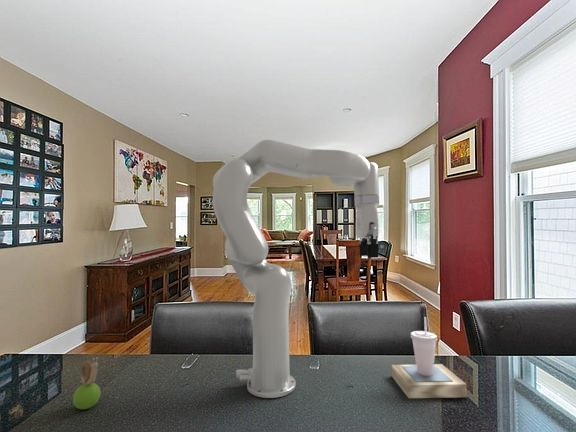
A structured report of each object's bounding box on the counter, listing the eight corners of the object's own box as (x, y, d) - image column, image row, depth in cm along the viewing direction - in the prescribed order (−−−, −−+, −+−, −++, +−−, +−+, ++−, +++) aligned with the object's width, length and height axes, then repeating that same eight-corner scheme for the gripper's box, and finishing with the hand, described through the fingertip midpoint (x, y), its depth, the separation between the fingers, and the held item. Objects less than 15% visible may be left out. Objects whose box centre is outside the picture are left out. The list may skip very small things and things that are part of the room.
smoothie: (441, 379, 77) (439, 321, 78) (414, 377, 79) (412, 320, 80) (435, 368, 84) (433, 314, 85) (409, 366, 85) (407, 314, 86)
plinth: (408, 398, 75) (408, 384, 75) (391, 376, 87) (391, 364, 87) (467, 397, 75) (466, 383, 75) (442, 375, 87) (441, 363, 87)
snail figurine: (81, 418, 68) (83, 361, 69) (67, 410, 72) (69, 356, 73) (107, 406, 73) (108, 353, 74) (92, 399, 76) (94, 349, 77)
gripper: (349, 205, 108) (351, 255, 106) (361, 198, 90) (363, 258, 89) (371, 204, 108) (373, 255, 106) (387, 198, 90) (389, 258, 89)
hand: (368, 256), depth 98 cm, fingers open, 9 cm apart
